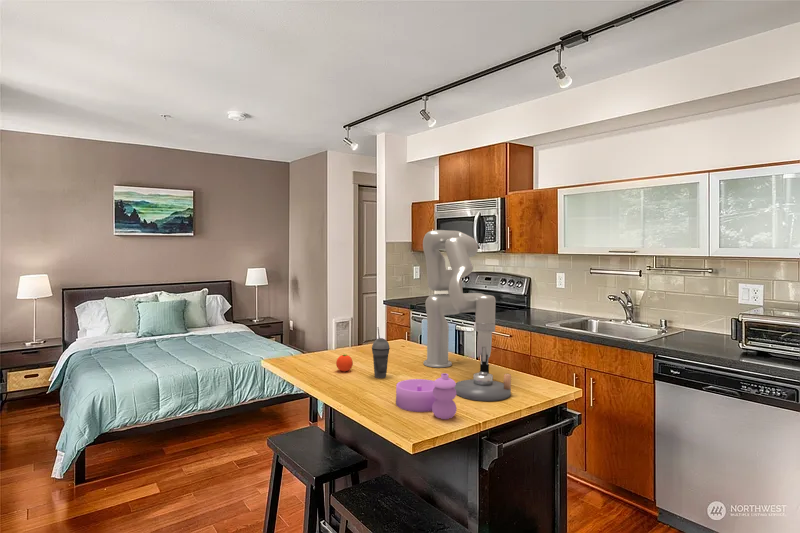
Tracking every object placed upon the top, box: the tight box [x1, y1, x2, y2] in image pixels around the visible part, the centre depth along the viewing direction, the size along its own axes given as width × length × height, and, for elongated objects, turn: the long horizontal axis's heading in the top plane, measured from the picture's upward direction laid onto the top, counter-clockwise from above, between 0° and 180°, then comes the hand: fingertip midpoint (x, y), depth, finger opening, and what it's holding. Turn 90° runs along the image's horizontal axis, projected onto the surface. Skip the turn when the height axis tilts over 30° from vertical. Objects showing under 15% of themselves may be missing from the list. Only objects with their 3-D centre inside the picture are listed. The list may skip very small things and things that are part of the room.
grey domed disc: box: [454, 373, 512, 402], centre depth 171 cm, size 20×20×7 cm
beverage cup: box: [371, 326, 391, 379], centre depth 190 cm, size 7×7×20 cm
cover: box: [472, 370, 494, 386], centre depth 175 cm, size 7×7×4 cm
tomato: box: [335, 354, 354, 373], centre depth 199 cm, size 8×7×7 cm
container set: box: [395, 372, 457, 420], centre depth 153 cm, size 25×15×13 cm, turn 32°
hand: (484, 374), depth 183 cm, fingers closed
